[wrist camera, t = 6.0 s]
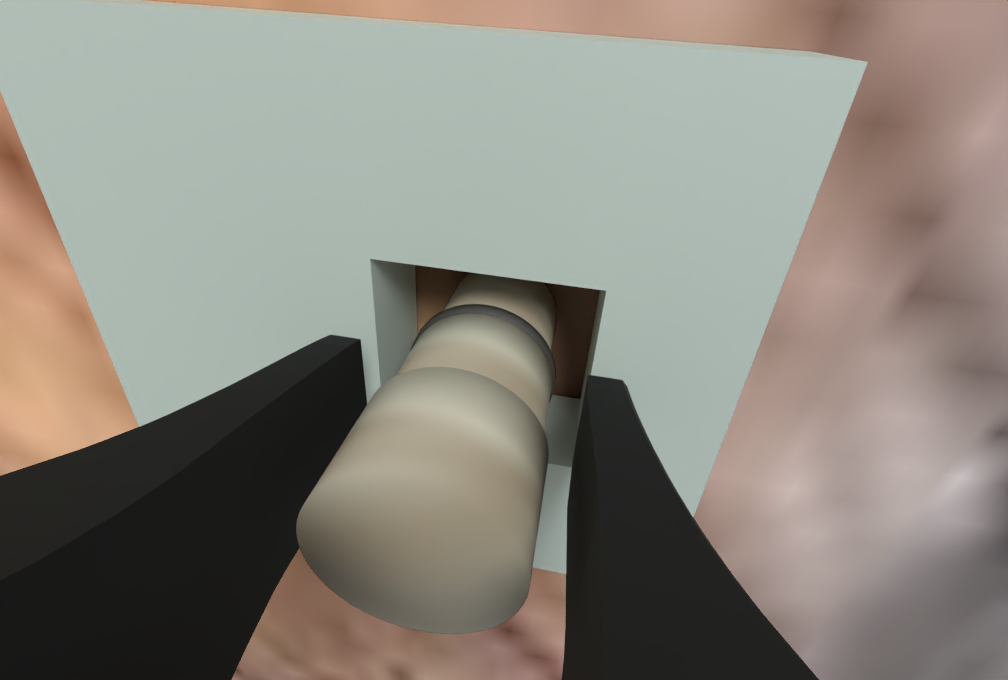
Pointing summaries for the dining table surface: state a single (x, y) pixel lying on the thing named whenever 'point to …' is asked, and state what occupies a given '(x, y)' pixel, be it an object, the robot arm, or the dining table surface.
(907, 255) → the dining table surface
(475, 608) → the peg
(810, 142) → the hole board
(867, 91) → the dining table surface
